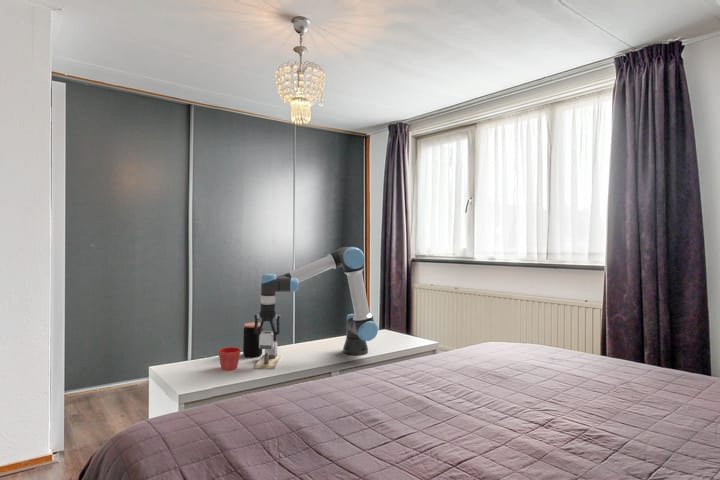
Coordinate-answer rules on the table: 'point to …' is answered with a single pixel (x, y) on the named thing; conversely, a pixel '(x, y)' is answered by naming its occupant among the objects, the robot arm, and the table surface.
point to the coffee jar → (251, 341)
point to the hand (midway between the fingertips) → (266, 347)
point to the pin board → (271, 363)
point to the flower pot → (229, 358)
